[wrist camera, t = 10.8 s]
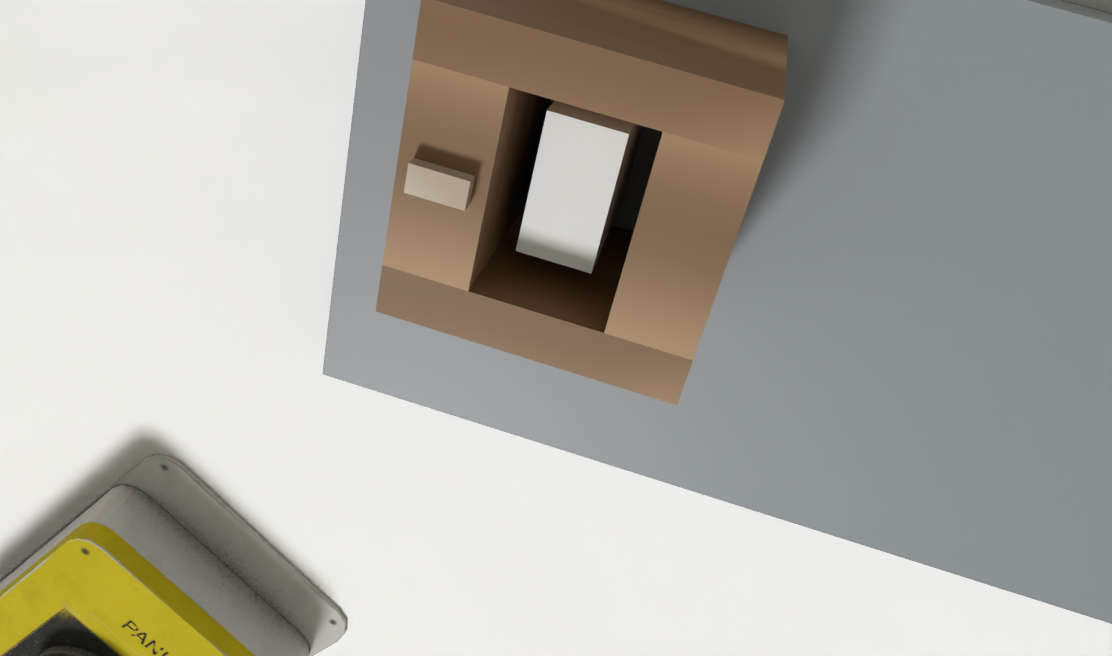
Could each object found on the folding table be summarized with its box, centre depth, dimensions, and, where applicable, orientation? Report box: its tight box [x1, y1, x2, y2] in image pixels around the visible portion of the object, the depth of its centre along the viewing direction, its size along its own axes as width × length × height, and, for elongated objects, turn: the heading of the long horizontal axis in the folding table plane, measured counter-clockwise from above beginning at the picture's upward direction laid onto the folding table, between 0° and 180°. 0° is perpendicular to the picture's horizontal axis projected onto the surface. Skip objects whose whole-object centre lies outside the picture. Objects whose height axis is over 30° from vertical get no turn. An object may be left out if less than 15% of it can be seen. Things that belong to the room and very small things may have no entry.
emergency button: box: [0, 455, 347, 656], centre depth 35 cm, size 9×4×15 cm
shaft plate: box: [323, 0, 1112, 624], centre depth 22 cm, size 24×14×6 cm, turn 77°
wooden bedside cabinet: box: [376, 0, 788, 405], centre depth 20 cm, size 6×6×5 cm
